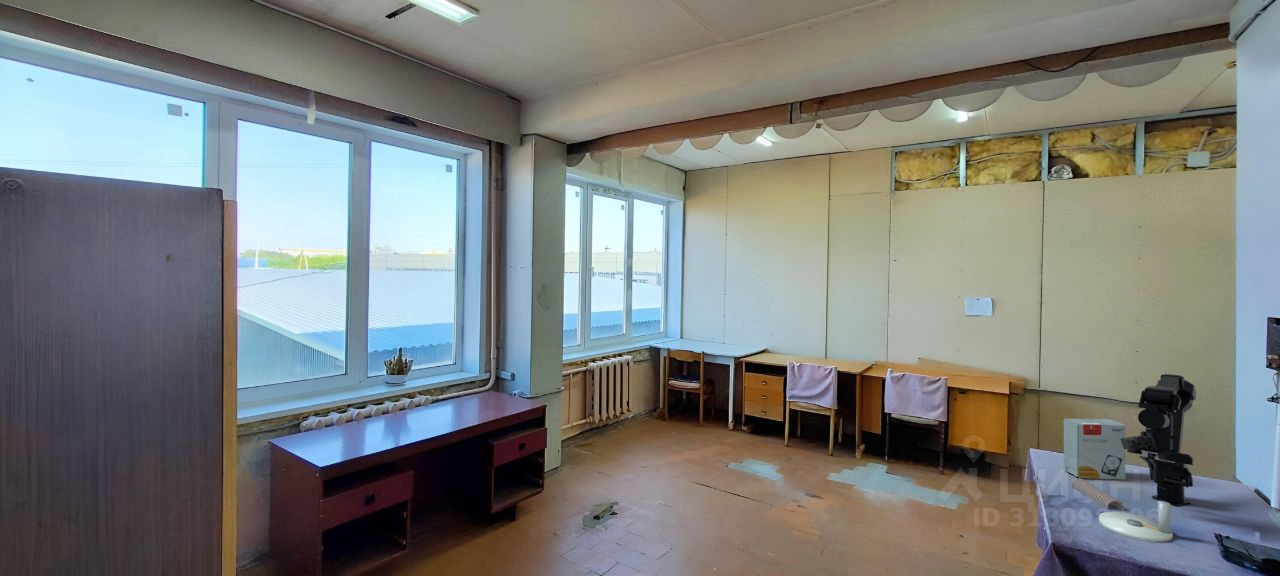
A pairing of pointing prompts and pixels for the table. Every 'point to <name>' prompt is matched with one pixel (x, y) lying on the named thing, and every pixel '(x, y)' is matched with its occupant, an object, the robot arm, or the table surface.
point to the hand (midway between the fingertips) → (1157, 483)
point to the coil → (1096, 494)
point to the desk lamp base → (1140, 524)
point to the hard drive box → (1094, 448)
